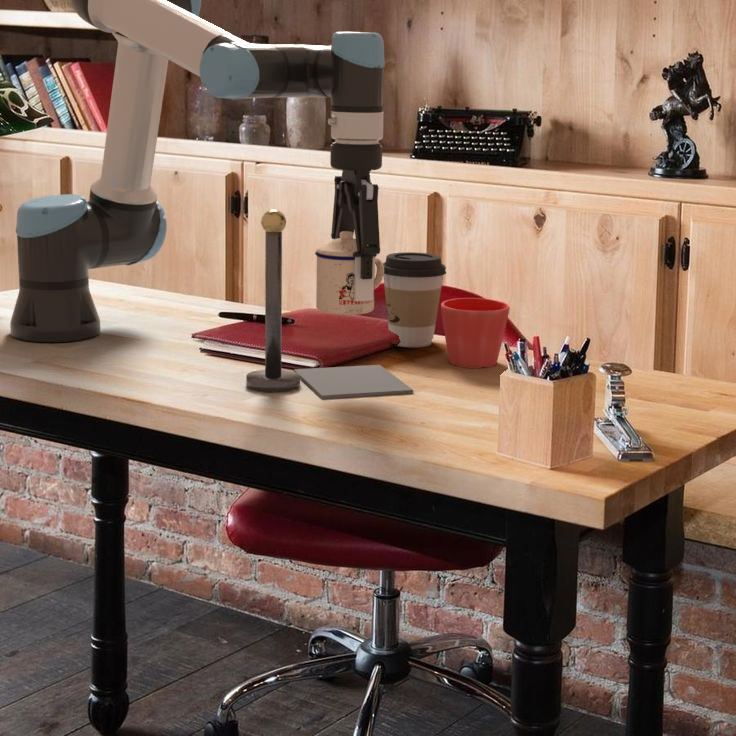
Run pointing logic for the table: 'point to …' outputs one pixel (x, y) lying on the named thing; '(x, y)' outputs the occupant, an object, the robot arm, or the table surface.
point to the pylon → (273, 313)
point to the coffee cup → (413, 296)
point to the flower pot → (474, 330)
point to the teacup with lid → (341, 277)
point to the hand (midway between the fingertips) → (353, 294)
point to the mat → (352, 381)
